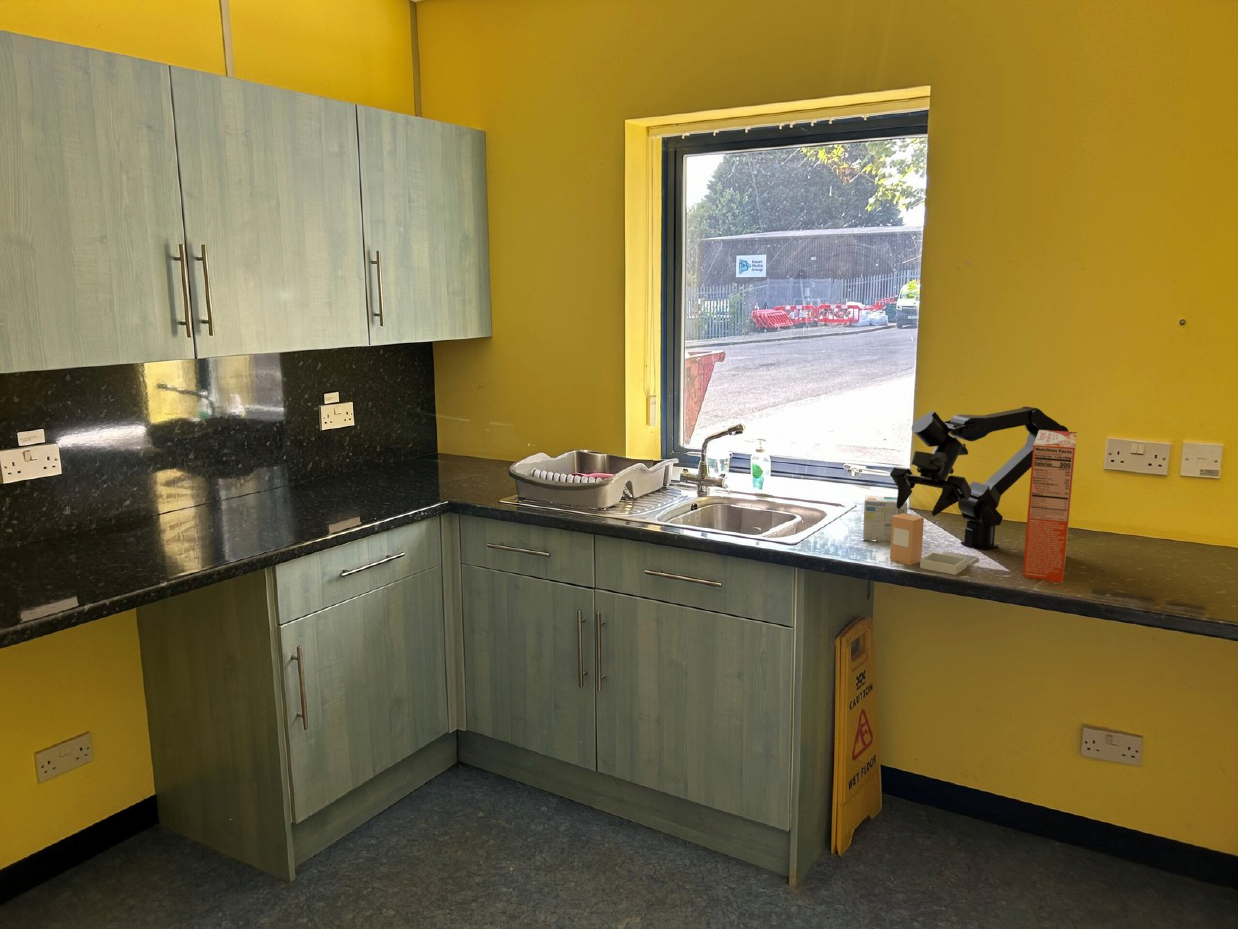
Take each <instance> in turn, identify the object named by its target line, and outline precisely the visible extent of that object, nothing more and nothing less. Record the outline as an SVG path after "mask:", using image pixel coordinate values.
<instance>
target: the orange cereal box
mask: <svg viewBox="0 0 1238 929" xmlns="http://www.w3.org/2000/svg"><path fill="white" fill-rule="evenodd" d="M1077 435H1078V432H1076V431H1069V432H1065V431H1048V430H1039V431H1038V434H1037V437H1036V439H1035V442H1034V445H1033V455H1032V467H1031V468H1030V482H1029V483H1030V484H1029V493H1028V507H1027V519H1026V529H1025V530H1026V531H1025V542H1024V543H1025V544H1024V554H1023V555H1024V556H1023V568H1022V577H1024V578H1033V579H1041V580H1046V581H1045V582H1049V581H1050V582H1051V581H1053V582H1052V583H1057V582H1063V583H1064V575H1065V566H1066V556H1067V554H1066V553H1067V544H1068V533H1069V522H1070V514H1071V512H1070V511H1071V502H1072V501H1071V500H1072V491H1073V490H1072V489H1073V480H1074V479H1073V477H1074V470H1075V469H1074V467H1075V456H1076V447H1077V446H1076V445H1077Z"/></svg>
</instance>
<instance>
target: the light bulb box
mask: <svg viewBox="0 0 1238 929" xmlns="http://www.w3.org/2000/svg"><path fill="white" fill-rule="evenodd" d="M863 503H864V506H863V530H862V531H863V532H862V533H863V535H862V540H863V539H864V540H876V541H883V542H891V529H892V516H895V515H898V514H902V513H905V514H908V499H907V500H906V502H905V503H904V504H903V506H902V507H901V508H900V509H898V508H897V496H887V495H886V496H883V495H881V496H880V495H865V496H864V502H863ZM876 541H875V542H876Z"/></svg>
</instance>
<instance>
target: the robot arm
mask: <svg viewBox="0 0 1238 929" xmlns="http://www.w3.org/2000/svg"><path fill="white" fill-rule="evenodd" d="M1023 426H1024V428H1025V430H1026V431H1028V435H1027V438H1026V443H1025V444H1024V446H1023V447H1021V449H1019V450H1018V451H1017V452H1016V453H1015V454H1014V455H1013V456H1012V457H1011V458H1010V459H1008V461H1006V462H1005V463H1004V464H1003V465H1002V466H1001V467H1000V468H999V469H998V470H997V471H995V472H994V474H992V475H991V476H990V477H989V478H988V479H987V480H986V481H985V482H982V483H980V482H978V481H972V482H970V484H969V483H968V481H967V479H966V477H964V476H958V475H957V476H956V475H953V474H954V472H955V470H954V468H953V467H954V464H955V463H956V461H957V460H958V457H959V456H967V455H969V450H968V448H967V447H966V443H962V442H961V441H960V440H962V441H963V440H964V441H968V442H976V441H978V440H980V439H983V438H985V437H987V435H989V434H990V433H993V432H997V431H1002V430H1007V429H1012V428H1017V427H1023ZM1039 430H1048V431H1065V432H1070V431H1069V429H1068V428H1067V426H1065V425H1062V424H1060V423H1059V422H1057V420H1054V419H1052V418H1051V417H1050V416H1048V415H1046V414H1045V413H1044V412H1043V411H1042V410H1041V409H1040V408H1037V407H1033V406H1025V405H1024V406H1023V407H1022V406H1021V408H1020V407H1019V408H1015V409H1009V410H1005V411H998V412H995V413H993V412H992V413H990V414H989V413H988V414H983V415H982V414H981V415H980V414H955V415H953V416H952V417H951V419H949V420H945V421H943V419H941V417H940V415H939V414H938V413H937V412H935V411H932V410H930V411H929V412H928V413H925V414H924V415H921V417H919V418H917V419H916V420H915V421H914V422H913V424H912V426H911V431H912V432H913V433H914V435H915V436H917V438H918V439H919V440H920V441H921V442H923V444H924V445H925V446H927V448H928V447H929V448H931V447H932V448H933V447H934V448H933V449H932V452H931V453H930V452H925V451H919V450H918V451H917V450H915V451H914V453H913V457H912V458H911V459H912V460H911V462H910V464H911V465H913V466H915V467H917V468H916V472H918V474H920V475H917V474H913V472H912V471H911V469H910V468H908V467H901V466H894V467H893V468H892V470H891V472H890V473H889V475H890V477H891V478H892V481H893V482H894V483H895V485H896V486H897V496H896V497H897V508H898V509H900V508H901V507H902V506H903V504H904V503H905V502H906V500H907V501H908V499H909V497H910V496H911V495H912V493H913V490H912V489H914V488H915V486H916V485H921V486H927V487H932V488H937V489H942V490H941V494H940V496H939V497H938V499H937V500H936V502H935V505H934V507H933V509H932V511H931V515H932V517H936V516H937V515H939V514H940V513H941V512H943V511H945V510H946V509H948V508H949V507H951V506H953V505H954V504H956V503H957V504H958V505H957V506H958V509H959V511H960V513H961V517H962V519H964V520H967V521H966V527H965V528H964V540H963V541H960V544H961V545H964V546H966V547H969V548H972V549H975V550H980V551H981V550H988V549H996V548H997V549H998V548H999V544H996V543H995V535H996V526H1001V524H1002V521H1003V518H1004V516H1002V514H1001V513H1000V512H999V511H998V510H997V508H998V507H999V504H1000V501H1001V499H1002V498H1001V497H1002V496H1003V494H1004V493H1006V492H1007V491H1008V490H1010V488H1011V487H1012V486H1013V485H1014V484H1015V483H1016V482H1017V481H1018V480H1019V479H1020V478H1022V477H1023V476H1024V475H1025V474H1026V473H1027V472H1028V471H1029V470H1031V468H1032V455H1033V445H1034V442H1035V439H1036V437H1037V434H1038V431H1039Z"/></svg>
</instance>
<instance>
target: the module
mask: <svg viewBox="0 0 1238 929" xmlns="http://www.w3.org/2000/svg"><path fill="white" fill-rule="evenodd" d="M924 518H925V517H923V516H918V515H914V514H909V513H907V514H905V513H902V514H898V515H895V516H892V529H891V541H890V547H889V548H890V551H889V560H890V559H891V560H890V561H892V560H893V561H892V562H896V561H899V562H898V563H900V564H905V565H909V566H912V565H915V564H918V563H920V561H921V559H922V558H923V557H922V555H923V553H922V552H923V539H924V537H923V536H924V523H925V522H924V521H925V519H924Z"/></svg>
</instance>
